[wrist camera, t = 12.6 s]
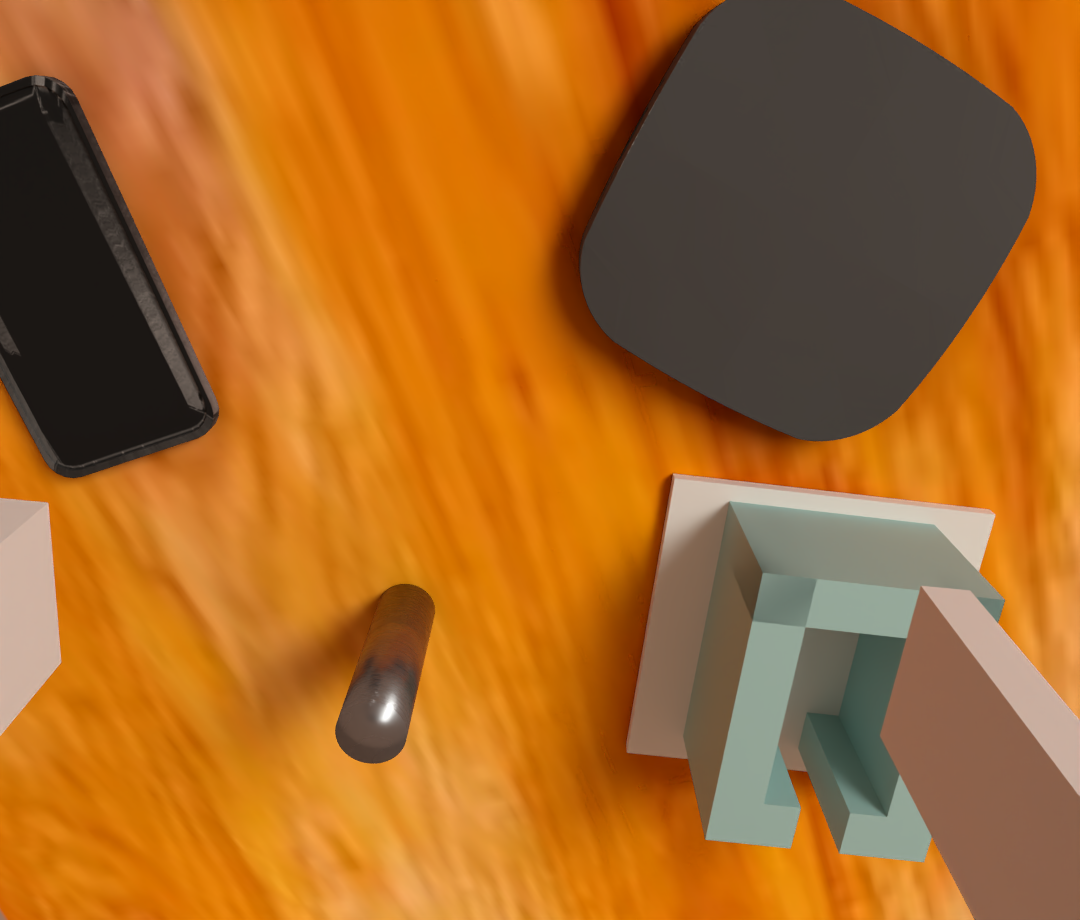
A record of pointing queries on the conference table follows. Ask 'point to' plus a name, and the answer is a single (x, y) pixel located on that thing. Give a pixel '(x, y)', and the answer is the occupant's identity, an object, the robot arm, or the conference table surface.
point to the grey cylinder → (387, 676)
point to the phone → (84, 298)
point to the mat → (688, 591)
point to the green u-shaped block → (770, 662)
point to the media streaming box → (806, 215)
